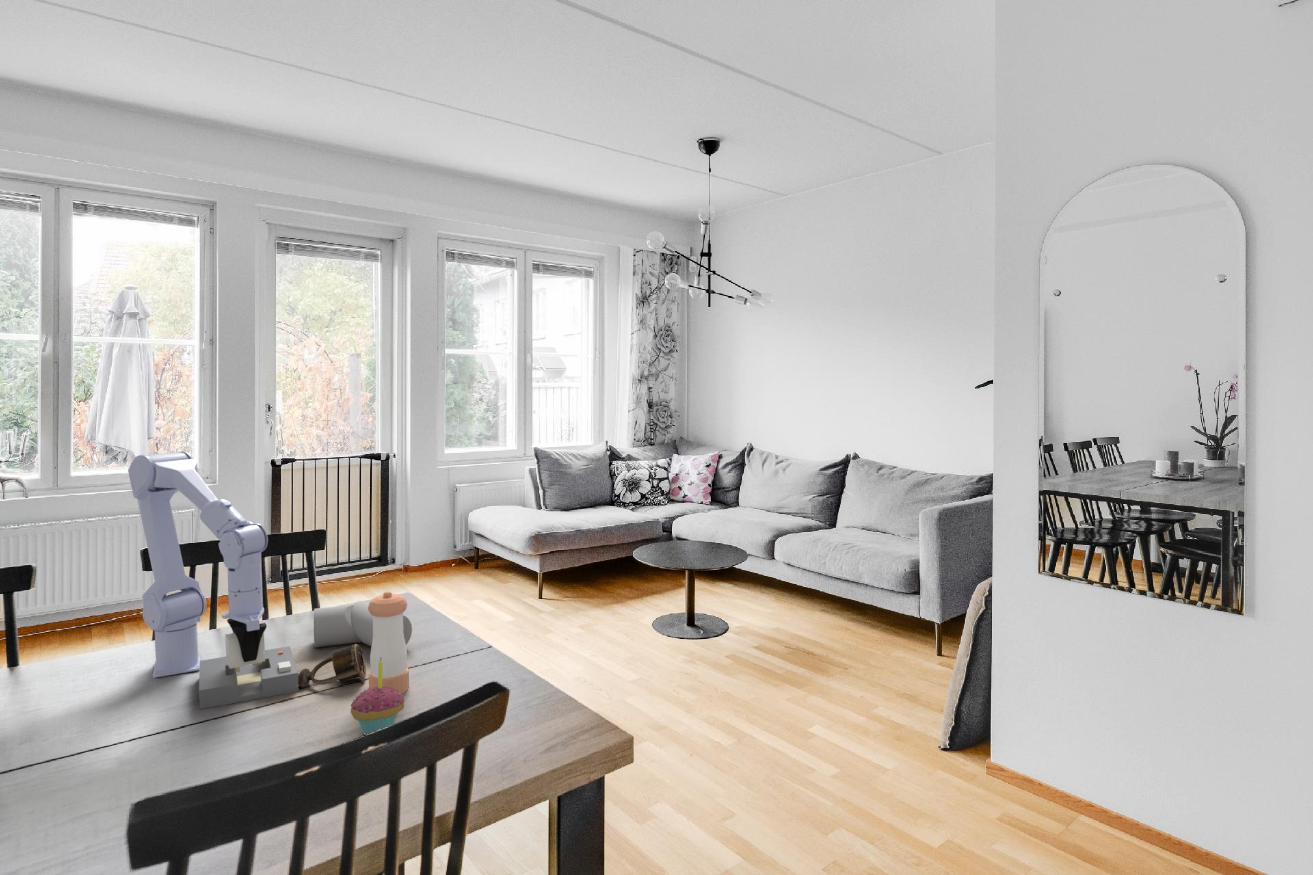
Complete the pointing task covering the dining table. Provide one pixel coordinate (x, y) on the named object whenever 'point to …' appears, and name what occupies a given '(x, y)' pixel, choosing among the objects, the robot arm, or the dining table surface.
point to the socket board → (247, 679)
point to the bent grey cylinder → (348, 625)
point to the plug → (235, 656)
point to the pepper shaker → (388, 642)
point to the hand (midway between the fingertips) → (247, 656)
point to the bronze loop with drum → (338, 667)
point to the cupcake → (377, 706)
